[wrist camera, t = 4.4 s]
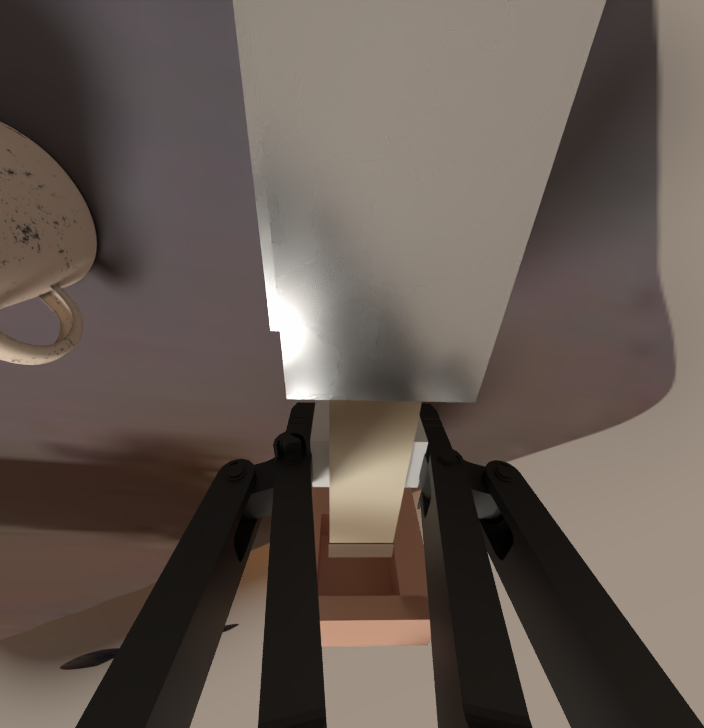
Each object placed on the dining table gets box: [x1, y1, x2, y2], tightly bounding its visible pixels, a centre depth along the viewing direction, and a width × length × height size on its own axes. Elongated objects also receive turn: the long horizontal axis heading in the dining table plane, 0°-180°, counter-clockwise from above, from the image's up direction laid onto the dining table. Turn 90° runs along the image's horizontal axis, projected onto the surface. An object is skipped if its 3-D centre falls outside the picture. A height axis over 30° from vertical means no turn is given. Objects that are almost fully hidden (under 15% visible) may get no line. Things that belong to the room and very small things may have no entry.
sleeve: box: [233, 0, 606, 402], centre depth 11 cm, size 11×8×13 cm
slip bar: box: [328, 400, 422, 557], centre depth 11 cm, size 19×3×3 cm, turn 178°
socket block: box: [312, 486, 431, 647], centre depth 21 cm, size 4×8×13 cm, turn 88°
